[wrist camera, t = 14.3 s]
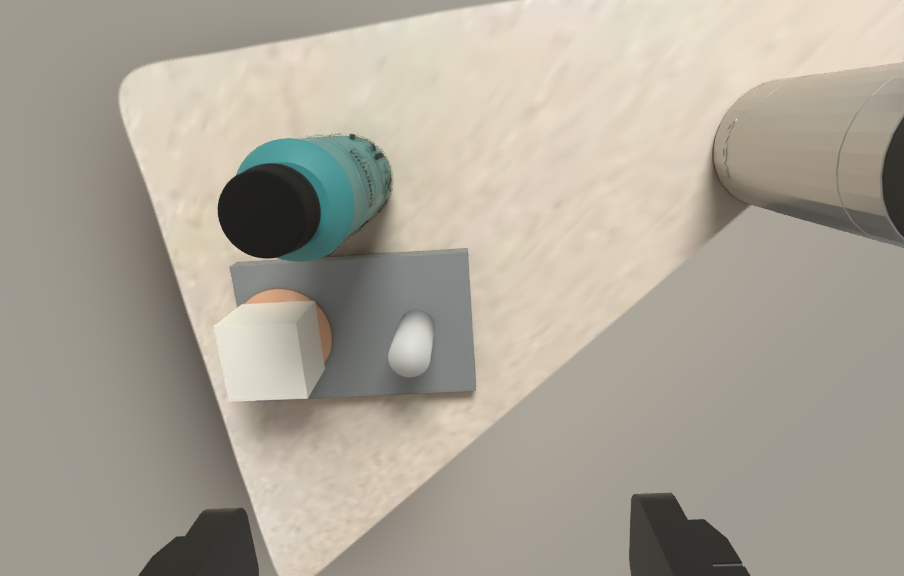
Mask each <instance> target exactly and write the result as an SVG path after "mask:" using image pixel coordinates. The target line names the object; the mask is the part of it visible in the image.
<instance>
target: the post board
mask: <svg viewBox="0 0 904 576" xmlns="http://www.w3.org/2000/svg"><path fill="white" fill-rule="evenodd" d="M230 272H231V277H232V282H233V287H234V292H235V297H236V302H237V307H239V306H240V305H241V304H245V303H246V302H247V301H248V300H249V299H251V298H252V297H253V296H255V295H256V294H258V293H260V292H263V291H265V290H269V289H276V288H284V289H291V290H294V291H298V292H300V293H303V294H304V295H306V296H308V297H310V298H311V299H312V300H314V301H315V302H316V303H317V304H318V305H319V306H320V307H321V308H322V309H323V311H324V312H325V314H326V315H327V317H328V319H329V322H330V324H331V328H332V333H333V343H332V348H331V351H330V354H329V356H328V358H327V360H326V361H325V363H324V365H325V370H324V372H323V373H322V375H321V377H320V378H319V380H318V382H317V384H316V385H315V387H314V389H313V390H312V392H311V394H310V396H309V397H308V399H313V398H334V397H355V396H376V395H397V394H418V393H438V392H459V391H476V378H475V362H474V346H473V329H472V313H471V297H470V281H469V264H468V248H464V249H448V250H431V251H415V252H398V253H382V254H366V255H349V256H333V257H322V258H320V259H317V260H313V261H308V262H292V261H286V260H267V261H250V262H237V263H235V264H234V265H232V266H230ZM283 400H292V399H283ZM258 401H271V400H258Z"/></svg>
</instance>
